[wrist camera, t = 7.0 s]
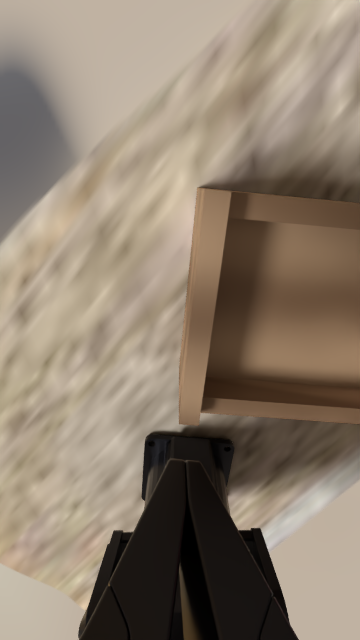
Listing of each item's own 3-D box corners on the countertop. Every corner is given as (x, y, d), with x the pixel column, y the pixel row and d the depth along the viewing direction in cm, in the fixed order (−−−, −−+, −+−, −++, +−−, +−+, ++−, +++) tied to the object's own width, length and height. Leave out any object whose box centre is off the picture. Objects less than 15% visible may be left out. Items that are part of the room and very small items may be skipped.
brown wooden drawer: (356, 380, 22) (410, 440, 16) (179, 366, 21) (179, 423, 16) (418, 208, 17) (517, 219, 12) (197, 187, 17) (204, 188, 12)
